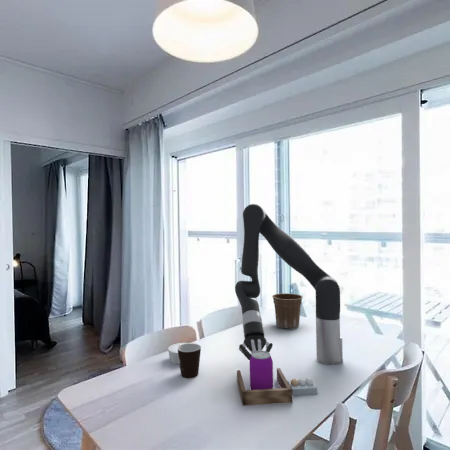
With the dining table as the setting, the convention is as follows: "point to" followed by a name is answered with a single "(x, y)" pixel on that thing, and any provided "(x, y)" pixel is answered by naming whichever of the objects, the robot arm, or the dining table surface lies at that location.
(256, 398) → the walnut U-seat
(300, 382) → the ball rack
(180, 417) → the dining table surface
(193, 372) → the coffee mug
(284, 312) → the plant pot
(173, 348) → the ramekin
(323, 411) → the dining table surface
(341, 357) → the robot arm
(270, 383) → the beverage can
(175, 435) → the dining table surface
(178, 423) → the dining table surface
